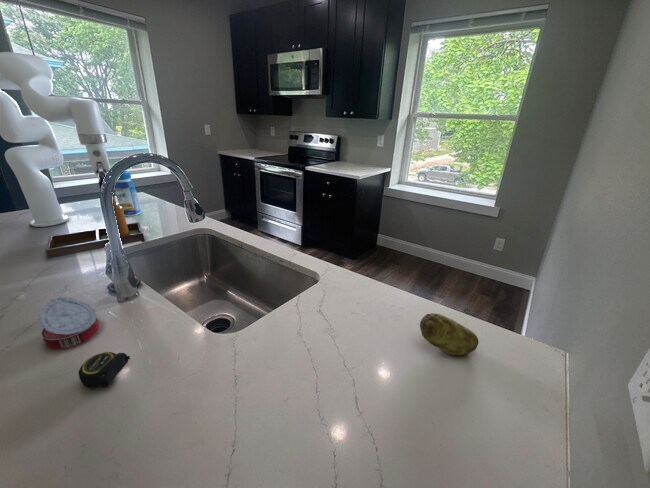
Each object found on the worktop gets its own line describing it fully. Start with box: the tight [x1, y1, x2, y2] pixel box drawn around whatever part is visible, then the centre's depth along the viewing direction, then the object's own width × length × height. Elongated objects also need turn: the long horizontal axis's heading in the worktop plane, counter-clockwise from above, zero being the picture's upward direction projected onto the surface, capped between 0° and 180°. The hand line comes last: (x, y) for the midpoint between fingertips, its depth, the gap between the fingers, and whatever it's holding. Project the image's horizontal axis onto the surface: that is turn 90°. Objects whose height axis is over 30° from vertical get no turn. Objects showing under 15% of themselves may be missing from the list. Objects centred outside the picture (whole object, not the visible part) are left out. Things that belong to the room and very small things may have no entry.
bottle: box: [112, 192, 130, 236], centre depth 112 cm, size 6×6×18 cm
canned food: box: [38, 296, 101, 351], centre depth 68 cm, size 11×10×10 cm
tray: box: [45, 221, 146, 259], centre depth 112 cm, size 14×28×4 cm, turn 126°
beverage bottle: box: [114, 170, 142, 217], centre depth 138 cm, size 8×8×20 cm
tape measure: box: [77, 351, 131, 389], centre depth 58 cm, size 7×7×4 cm
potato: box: [419, 312, 479, 356], centre depth 68 cm, size 8×13×8 cm, turn 63°
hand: (106, 188), depth 108 cm, fingers open, 9 cm apart
